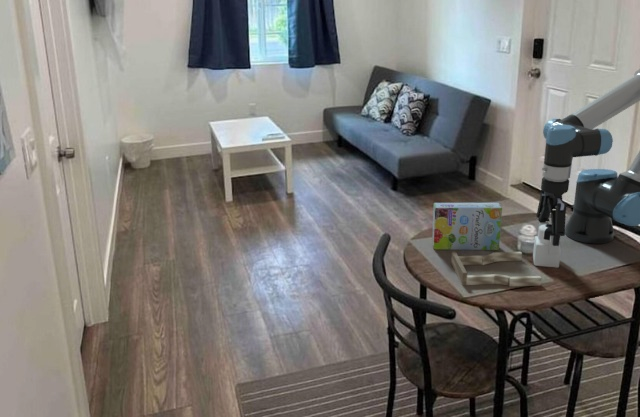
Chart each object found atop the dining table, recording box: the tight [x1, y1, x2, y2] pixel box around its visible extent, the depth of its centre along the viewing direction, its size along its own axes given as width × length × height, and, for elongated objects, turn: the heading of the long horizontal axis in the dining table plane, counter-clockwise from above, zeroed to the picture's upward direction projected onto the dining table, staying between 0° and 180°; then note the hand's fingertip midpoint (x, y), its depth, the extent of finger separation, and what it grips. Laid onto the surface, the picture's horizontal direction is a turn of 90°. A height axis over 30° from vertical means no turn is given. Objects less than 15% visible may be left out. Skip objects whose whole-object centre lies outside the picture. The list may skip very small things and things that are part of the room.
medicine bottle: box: [532, 223, 562, 268], centre depth 174 cm, size 7×7×12 cm
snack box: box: [431, 202, 503, 251], centre depth 186 cm, size 21×6×15 cm, turn 84°
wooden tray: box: [450, 251, 543, 287], centre depth 170 cm, size 22×17×4 cm
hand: (547, 247), depth 175 cm, fingers closed on medicine bottle, 8 cm apart
